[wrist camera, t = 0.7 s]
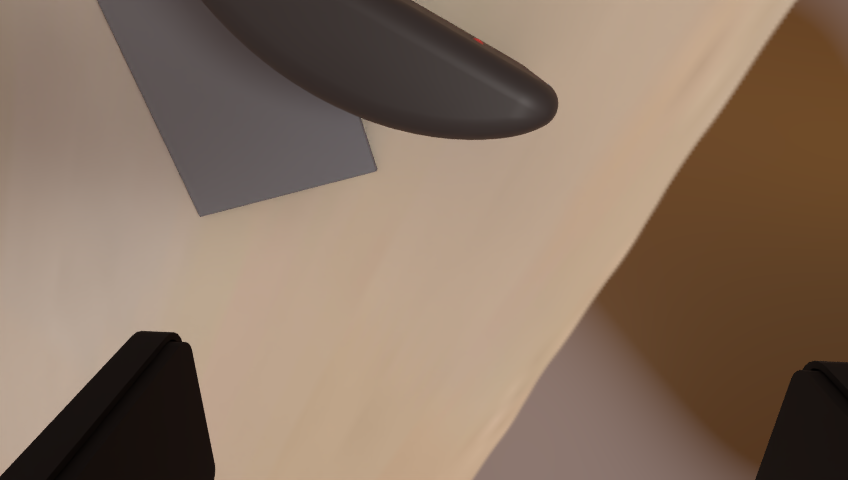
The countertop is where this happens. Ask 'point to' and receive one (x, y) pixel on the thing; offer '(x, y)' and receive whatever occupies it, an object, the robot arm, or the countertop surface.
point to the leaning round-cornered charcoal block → (393, 65)
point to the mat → (231, 109)
